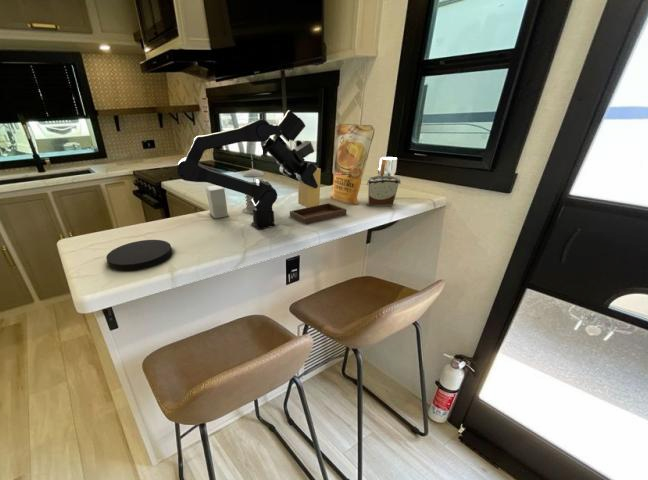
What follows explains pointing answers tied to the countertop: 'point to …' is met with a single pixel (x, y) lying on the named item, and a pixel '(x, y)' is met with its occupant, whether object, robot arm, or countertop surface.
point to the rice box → (309, 192)
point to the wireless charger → (139, 255)
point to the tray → (317, 213)
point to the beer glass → (387, 166)
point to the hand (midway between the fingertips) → (312, 185)
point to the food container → (382, 190)
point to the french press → (253, 174)
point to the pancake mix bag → (350, 160)
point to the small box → (217, 201)
